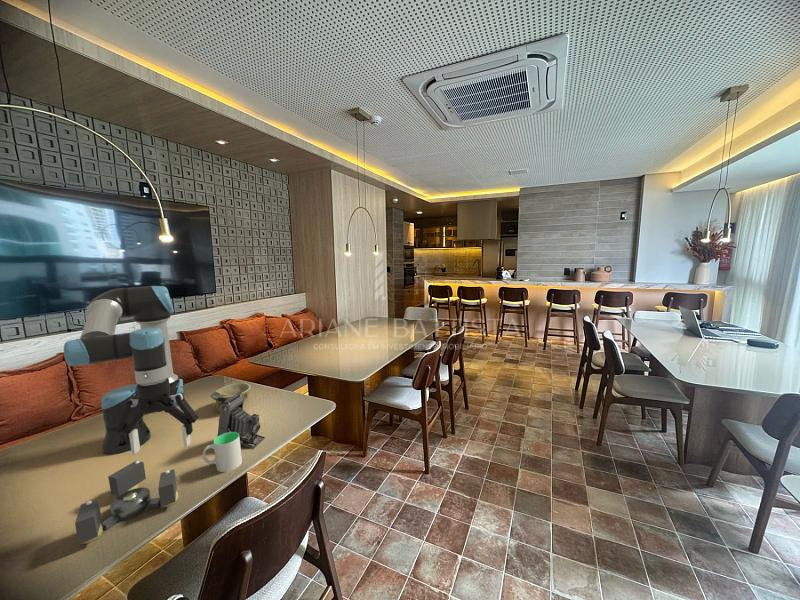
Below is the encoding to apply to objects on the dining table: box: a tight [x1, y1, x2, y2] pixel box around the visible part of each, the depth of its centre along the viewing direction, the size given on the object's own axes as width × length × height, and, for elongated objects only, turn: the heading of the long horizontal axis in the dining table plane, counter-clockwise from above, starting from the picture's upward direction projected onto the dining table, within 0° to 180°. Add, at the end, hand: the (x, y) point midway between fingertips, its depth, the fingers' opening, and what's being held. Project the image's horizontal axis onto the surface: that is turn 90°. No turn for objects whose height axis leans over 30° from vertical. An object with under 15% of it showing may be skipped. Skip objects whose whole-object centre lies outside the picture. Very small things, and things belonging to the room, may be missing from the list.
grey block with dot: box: [107, 460, 147, 497], centre depth 101 cm, size 4×8×9 cm, turn 164°
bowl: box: [210, 382, 252, 412], centre depth 160 cm, size 18×18×10 cm
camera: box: [216, 392, 266, 449], centre depth 128 cm, size 11×17×20 cm, turn 79°
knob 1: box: [74, 498, 104, 545], centre depth 85 cm, size 4×8×9 cm, turn 38°
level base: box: [100, 487, 160, 531], centre depth 93 cm, size 14×12×5 cm
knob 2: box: [157, 468, 179, 508], centre depth 96 cm, size 4×8×9 cm, turn 33°
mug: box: [202, 432, 243, 473], centre depth 113 cm, size 12×8×10 cm, turn 113°
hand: (162, 448), depth 95 cm, fingers open, 13 cm apart
